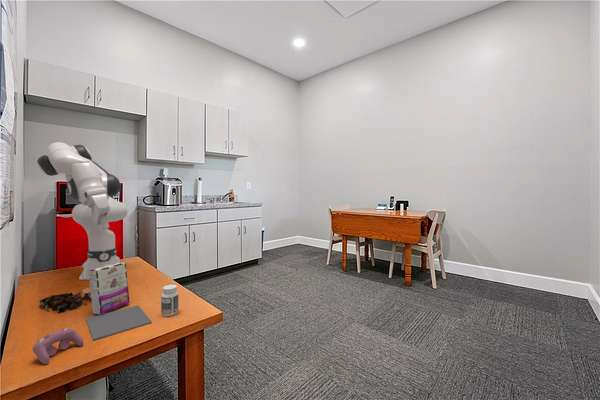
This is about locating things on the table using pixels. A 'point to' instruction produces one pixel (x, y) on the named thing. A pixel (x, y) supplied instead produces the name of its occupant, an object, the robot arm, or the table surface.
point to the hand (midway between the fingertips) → (106, 228)
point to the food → (65, 301)
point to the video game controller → (64, 336)
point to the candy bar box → (108, 287)
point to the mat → (116, 322)
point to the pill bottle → (169, 300)
